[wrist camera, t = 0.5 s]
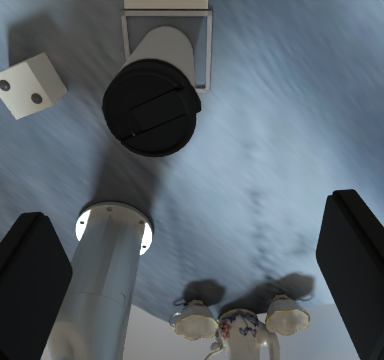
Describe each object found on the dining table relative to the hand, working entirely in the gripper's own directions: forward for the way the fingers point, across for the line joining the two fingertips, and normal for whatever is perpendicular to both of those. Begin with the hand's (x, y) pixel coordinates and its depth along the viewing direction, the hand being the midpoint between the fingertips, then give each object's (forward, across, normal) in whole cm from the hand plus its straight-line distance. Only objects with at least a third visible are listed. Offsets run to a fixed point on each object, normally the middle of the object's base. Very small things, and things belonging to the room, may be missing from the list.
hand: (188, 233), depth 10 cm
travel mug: (+31, +3, 0) cm, 31 cm away
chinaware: (+30, -6, +53) cm, 61 cm away
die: (+30, +19, +2) cm, 36 cm away
